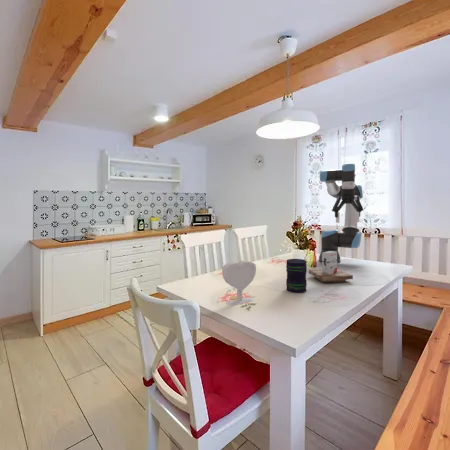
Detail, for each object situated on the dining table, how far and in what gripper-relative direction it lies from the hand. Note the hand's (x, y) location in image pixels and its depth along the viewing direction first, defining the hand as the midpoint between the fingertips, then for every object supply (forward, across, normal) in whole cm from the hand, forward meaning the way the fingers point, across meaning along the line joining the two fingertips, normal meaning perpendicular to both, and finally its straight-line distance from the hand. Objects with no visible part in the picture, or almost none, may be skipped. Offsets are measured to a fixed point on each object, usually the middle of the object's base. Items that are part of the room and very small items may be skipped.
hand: (347, 222), depth 172 cm
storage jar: (+31, -48, -32) cm, 65 cm away
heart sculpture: (+31, -79, -42) cm, 95 cm away
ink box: (+27, -22, -18) cm, 39 cm away
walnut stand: (+31, -22, -18) cm, 42 cm away
